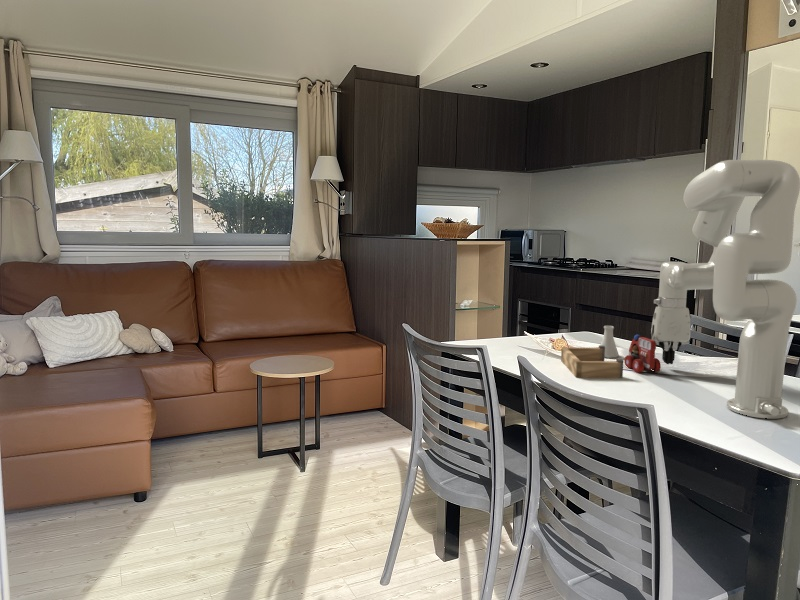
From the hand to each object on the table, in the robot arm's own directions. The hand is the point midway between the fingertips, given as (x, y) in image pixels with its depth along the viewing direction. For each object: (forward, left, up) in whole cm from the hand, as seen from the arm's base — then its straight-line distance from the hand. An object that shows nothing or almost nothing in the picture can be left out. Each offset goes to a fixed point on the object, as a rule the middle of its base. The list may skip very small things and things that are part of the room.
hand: (668, 362), depth 177 cm
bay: (0, +23, -2) cm, 23 cm away
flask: (+17, +13, -2) cm, 21 cm away
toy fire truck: (0, +8, -2) cm, 8 cm away
